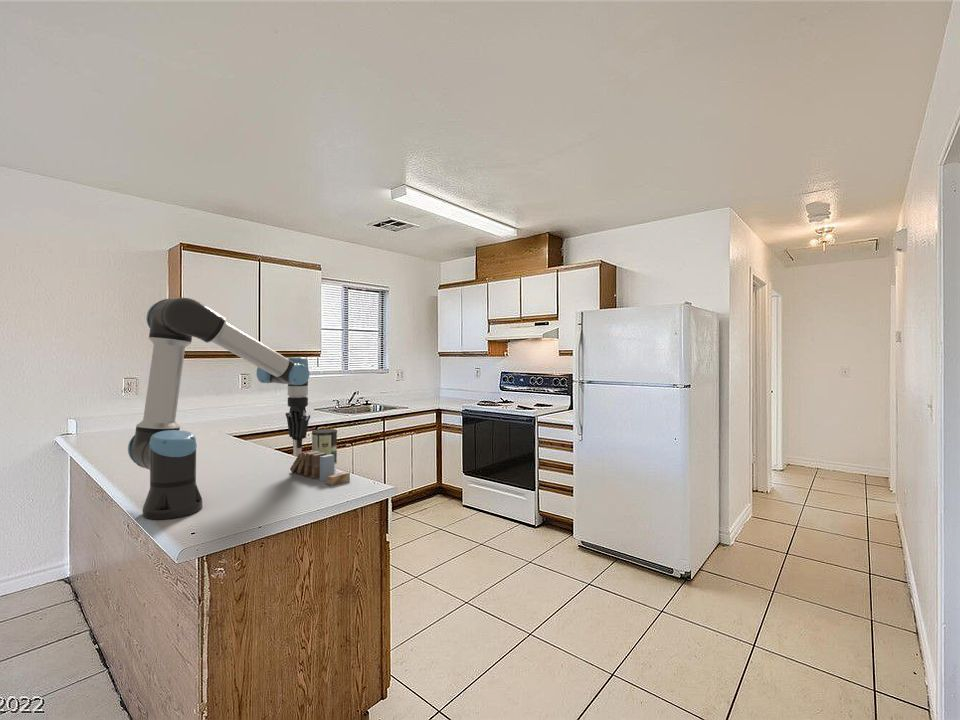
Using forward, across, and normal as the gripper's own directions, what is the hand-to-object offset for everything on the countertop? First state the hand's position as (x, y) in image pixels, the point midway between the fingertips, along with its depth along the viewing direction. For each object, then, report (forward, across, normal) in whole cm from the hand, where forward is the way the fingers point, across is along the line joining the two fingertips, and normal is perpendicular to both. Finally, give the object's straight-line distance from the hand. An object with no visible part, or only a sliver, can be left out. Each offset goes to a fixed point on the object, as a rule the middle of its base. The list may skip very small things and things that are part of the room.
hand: (297, 455), depth 193 cm
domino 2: (+6, -4, 0) cm, 7 cm away
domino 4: (+6, -14, 0) cm, 15 cm away
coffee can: (+7, +3, -15) cm, 17 cm away
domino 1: (+6, 0, 0) cm, 6 cm away
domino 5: (+6, -18, 0) cm, 19 cm away
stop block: (+6, -25, 0) cm, 26 cm away
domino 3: (+6, -9, 0) cm, 11 cm away
